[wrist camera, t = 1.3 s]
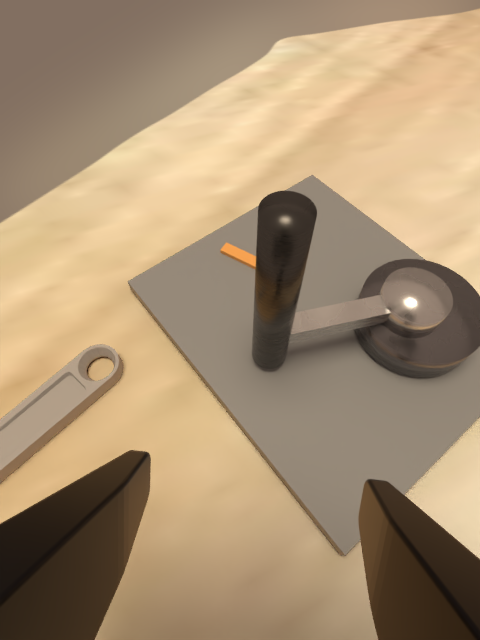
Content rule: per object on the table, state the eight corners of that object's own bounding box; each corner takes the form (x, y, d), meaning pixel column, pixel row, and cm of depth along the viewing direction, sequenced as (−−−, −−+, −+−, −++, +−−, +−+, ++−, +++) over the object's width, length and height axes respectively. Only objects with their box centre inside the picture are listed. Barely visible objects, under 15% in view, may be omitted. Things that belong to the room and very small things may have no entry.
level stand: (533, 356, 24) (548, 347, 23) (340, 555, 19) (346, 555, 18) (310, 184, 32) (312, 171, 31) (131, 290, 27) (126, 278, 26)
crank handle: (493, 332, 24) (668, 179, 14) (347, 469, 20) (449, 389, 10) (387, 249, 27) (469, 80, 17) (244, 352, 23) (245, 207, 13)
